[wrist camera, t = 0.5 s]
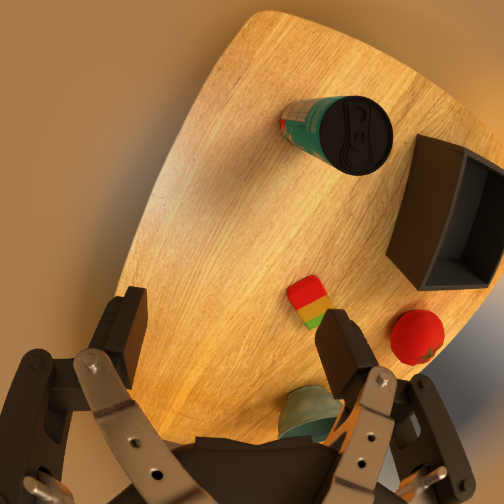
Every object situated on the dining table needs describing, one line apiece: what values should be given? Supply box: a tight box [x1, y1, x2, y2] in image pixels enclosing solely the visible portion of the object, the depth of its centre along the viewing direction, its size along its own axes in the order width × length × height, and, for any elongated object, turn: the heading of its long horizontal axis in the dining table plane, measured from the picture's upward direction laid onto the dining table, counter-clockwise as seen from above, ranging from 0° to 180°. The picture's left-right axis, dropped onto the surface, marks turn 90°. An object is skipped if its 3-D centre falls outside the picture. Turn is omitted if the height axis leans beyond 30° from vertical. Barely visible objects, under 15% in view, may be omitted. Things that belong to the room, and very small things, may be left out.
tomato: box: [390, 310, 445, 366], centre depth 44 cm, size 12×12×10 cm
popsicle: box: [287, 276, 335, 330], centre depth 43 cm, size 6×15×2 cm, turn 30°
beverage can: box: [280, 96, 393, 176], centre depth 23 cm, size 6×6×15 cm
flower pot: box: [278, 385, 343, 443], centre depth 53 cm, size 16×16×11 cm
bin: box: [386, 134, 504, 291], centre depth 32 cm, size 20×20×10 cm
